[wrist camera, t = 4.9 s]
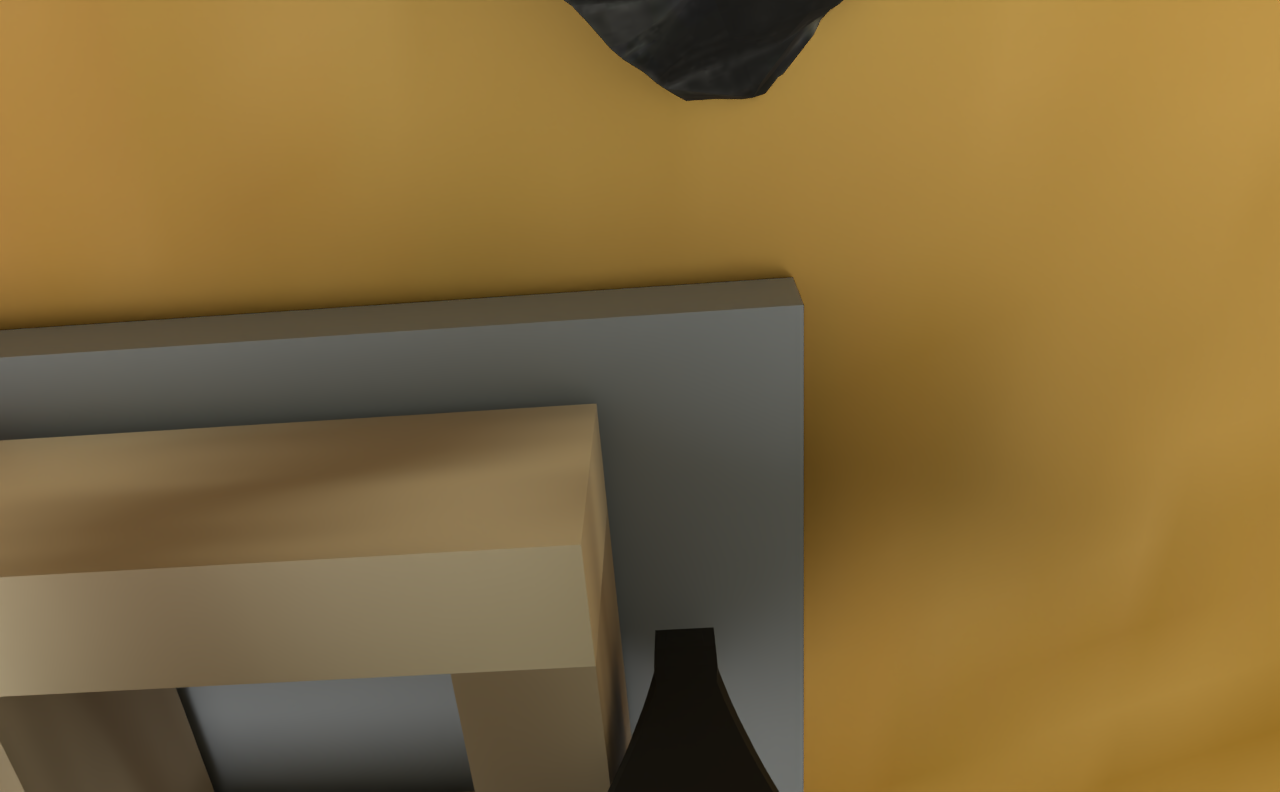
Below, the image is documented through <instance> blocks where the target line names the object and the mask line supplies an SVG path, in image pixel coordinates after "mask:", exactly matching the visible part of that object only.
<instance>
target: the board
mask: <svg viewBox="0 0 1280 792" xmlns="http://www.w3.org/2000/svg"><path fill="white" fill-rule="evenodd" d="M581 404H597V413H598V423H599V433H600V442H601V452H602V461H603V471H604V480H605V490H606V500H607V509H608V519H609V528H610V538H611V547H612V557H613V566H614V576H615V586H616V595H617V605H618V614H619V624H620V633H621V643H622V653H623V662H624V672H625V681H626V691H627V700H628V710H629V719H630V729H631V738H632V735H633V732H634V730H635V727H636V724H637V722H638V719H639V717H640V714H641V711H642V709H643V706H644V703H645V700H646V697H647V693H648V690H649V687H650V684H651V681H652V677H653V673H654V650H655V630H670V629H689V628H709V627H714V635H715V644H716V654H717V664H718V669H719V672H720V675H721V677H722V680H723V682H724V685H725V687H726V690H727V692H728V694H729V697H730V699H731V702H732V704H733V706H734V708H735V710H736V713H737V715H738V717H739V719H740V721H741V723H742V725H743V727H744V729H745V731H746V733H747V735H748V737H749V739H750V741H751V742H752V744H753V746H754V748H755V750H756V752H757V754H758V756H759V758H760V760H761V761H762V763H763V765H764V767H765V768H766V770H767V772H768V774H769V775H770V777H771V779H772V780H773V782H774V784H775V785H776V787H777V789H778V790H779V792H803V761H804V304H803V302H802V299H801V297H800V294H799V292H798V289H797V286H796V284H795V281H794V279H793V277H790V278H775V279H760V280H745V281H730V282H715V283H700V284H685V285H670V286H655V287H640V288H625V289H610V290H595V291H580V292H565V293H550V294H535V295H520V296H505V297H490V298H475V299H460V300H445V301H430V302H415V303H400V304H385V305H370V306H355V307H341V308H326V309H311V310H296V311H281V312H266V313H251V314H236V315H221V316H206V317H191V318H176V319H161V320H146V321H131V322H116V323H101V324H86V325H71V326H56V327H41V328H26V329H11V330H0V441H1V440H17V439H33V438H49V437H65V436H81V435H97V434H113V433H130V432H146V431H162V430H178V429H194V428H210V427H226V426H242V425H259V424H275V423H291V422H307V421H323V420H339V419H355V418H371V417H388V416H404V415H420V414H436V413H452V412H468V411H484V410H500V409H516V408H533V407H549V406H565V405H581ZM176 690H177V692H178V695H179V698H180V700H181V703H182V706H183V708H184V711H185V714H186V717H187V719H188V722H189V725H190V727H191V730H192V733H193V735H194V738H195V741H196V743H197V746H198V749H199V751H200V754H201V757H202V760H203V762H204V765H205V768H206V770H207V773H208V776H209V778H210V781H211V784H212V786H213V789H214V792H465V791H475V790H474V785H473V780H472V776H471V771H470V766H469V761H468V756H467V751H466V747H465V742H464V737H463V732H462V727H461V722H460V718H459V713H458V708H457V703H456V698H455V694H454V689H453V684H452V679H451V674H435V675H415V676H396V677H376V678H356V679H337V680H317V681H298V682H278V683H258V684H239V685H219V686H200V687H180V688H176Z"/></svg>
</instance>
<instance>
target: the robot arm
mask: <svg viewBox="0 0 1280 792" xmlns="http://www.w3.org/2000/svg"><path fill="white" fill-rule="evenodd" d="M608 792H779V790H778V789H777V787H776V785H775V784H774V782H773V780H772V779H771V777H770V775H769V774H768V772H767V770H766V768H765V767H764V765H763V763H762V761H761V760H760V758H759V756H758V754H757V752H756V750H755V748H754V746H753V744H752V742H751V741H750V739H749V737H748V735H747V733H746V731H745V729H744V727H743V725H742V723H741V721H740V719H739V717H738V715H737V713H736V710H735V708H734V706H733V704H732V702H731V699H730V697H729V694H728V692H727V690H726V687H725V685H724V682H723V680H722V677H721V675H720V672H719V669H718V664H717V654H716V644H715V635H714V627H709V628H689V629H670V630H655V650H654V673H653V677H652V681H651V684H650V687H649V690H648V693H647V697H646V700H645V703H644V706H643V709H642V711H641V714H640V717H639V719H638V722H637V724H636V727H635V730H634V732H633V735H632V738H631V740H630V743H629V745H628V748H627V750H626V753H625V755H624V757H623V760H622V762H621V764H620V766H619V768H618V770H617V772H616V775H615V777H614V779H613V781H612V783H611V785H610V788H609V790H608Z"/></svg>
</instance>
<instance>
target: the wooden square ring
mask: <svg viewBox="0 0 1280 792" xmlns="http://www.w3.org/2000/svg"><path fill="white" fill-rule="evenodd" d="M435 674H451V679H452V684H453V689H454V694H455V698H456V703H457V708H458V713H459V718H460V722H461V727H462V732H463V737H464V742H465V747H466V751H467V756H468V761H469V766H470V771H471V776H472V780H473V785H474V790H475V791H465V792H608V790H609V788H610V785H611V783H612V781H613V779H614V777H615V775H616V772H617V770H618V768H619V766H620V764H621V762H622V760H623V757H624V755H625V753H626V750H627V748H628V745H629V743H630V740H631V729H630V719H629V710H628V700H627V691H626V681H625V672H624V662H623V653H622V643H621V633H620V624H619V614H618V605H617V595H616V586H615V576H614V566H613V557H612V547H611V538H610V528H609V519H608V509H607V500H606V490H605V480H604V471H603V461H602V452H601V442H600V433H599V423H598V413H597V404H581V405H565V406H549V407H533V408H516V409H500V410H484V411H468V412H452V413H436V414H420V415H404V416H388V417H371V418H355V419H339V420H323V421H307V422H291V423H275V424H259V425H242V426H226V427H210V428H194V429H178V430H162V431H146V432H130V433H113V434H97V435H81V436H65V437H49V438H33V439H17V440H1V441H0V792H214V789H213V786H212V784H211V781H210V778H209V776H208V773H207V770H206V768H205V765H204V762H203V760H202V757H201V754H200V751H199V749H198V746H197V743H196V741H195V738H194V735H193V733H192V730H191V727H190V725H189V722H188V719H187V717H186V714H185V711H184V708H183V706H182V703H181V700H180V698H179V695H178V692H177V690H176V688H180V687H200V686H219V685H239V684H258V683H278V682H298V681H317V680H337V679H356V678H376V677H396V676H415V675H435Z"/></svg>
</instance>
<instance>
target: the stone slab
mask: <svg viewBox="0 0 1280 792" xmlns="http://www.w3.org/2000/svg"><path fill="white" fill-rule="evenodd" d="M564 1H565V2H567V3H569V4H570V5H572V6H573V8H574V9H575V10H576V11H577V12H578V13H579V14H580V15H581V16H582V17H583V18H584V19H585V20H586V21H587V22H588V23H589V24H590V26H591V27H592V28H593V29H594V30H595V31H596V33H597V34H598V35H599V36H600V37H601V38H602V39H603V41H604V42H605V43H606V44H607V45H608V46H609V47H610V48H611V49H612V50H613V51H614V52H615V53H616V54H618V55H619V56H620V57H621V58H622V59H623V60H625V61H627V62H628V63H630V64H631V65H633V66H635V67H636V68H638V69H640V70H641V71H643V72H644V73H645V74H647V75H648V76H649V77H650V78H651V79H652V80H654V81H655V82H656V83H657V84H659V85H660V86H662V87H663V88H665V89H666V90H668V91H670V92H671V93H673V94H675V95H677V96H678V97H680V98H682V99H684V100H686V101H690V100H705V99H746V98H753V97H756V96H759V95H762V94H765V93H766V92H767V91H768V89H769V88H770V87H771V85H772V84H773V83H774V82H775V80H776V79H777V78H778V77H779V76H781V75H782V74H783V73H784V72H785V71H786V69H787V68H788V67H789V66H790V64H791V63H792V62H793V61H794V59H795V58H796V57H797V55H798V54H799V53H800V52H801V50H802V49H803V48H804V46H805V45H806V44H807V43H808V41H809V40H810V39H811V37H812V36H813V35H814V33H815V31H816V29H817V27H818V25H819V22H820V20H821V19H822V18H823V17H824V16H825V15H826V13H827V12H828V11H829V10H831V9H832V8H834V7H835V6H837V5H838V4H840V3H841V2H842V1H843V0H564Z"/></svg>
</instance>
